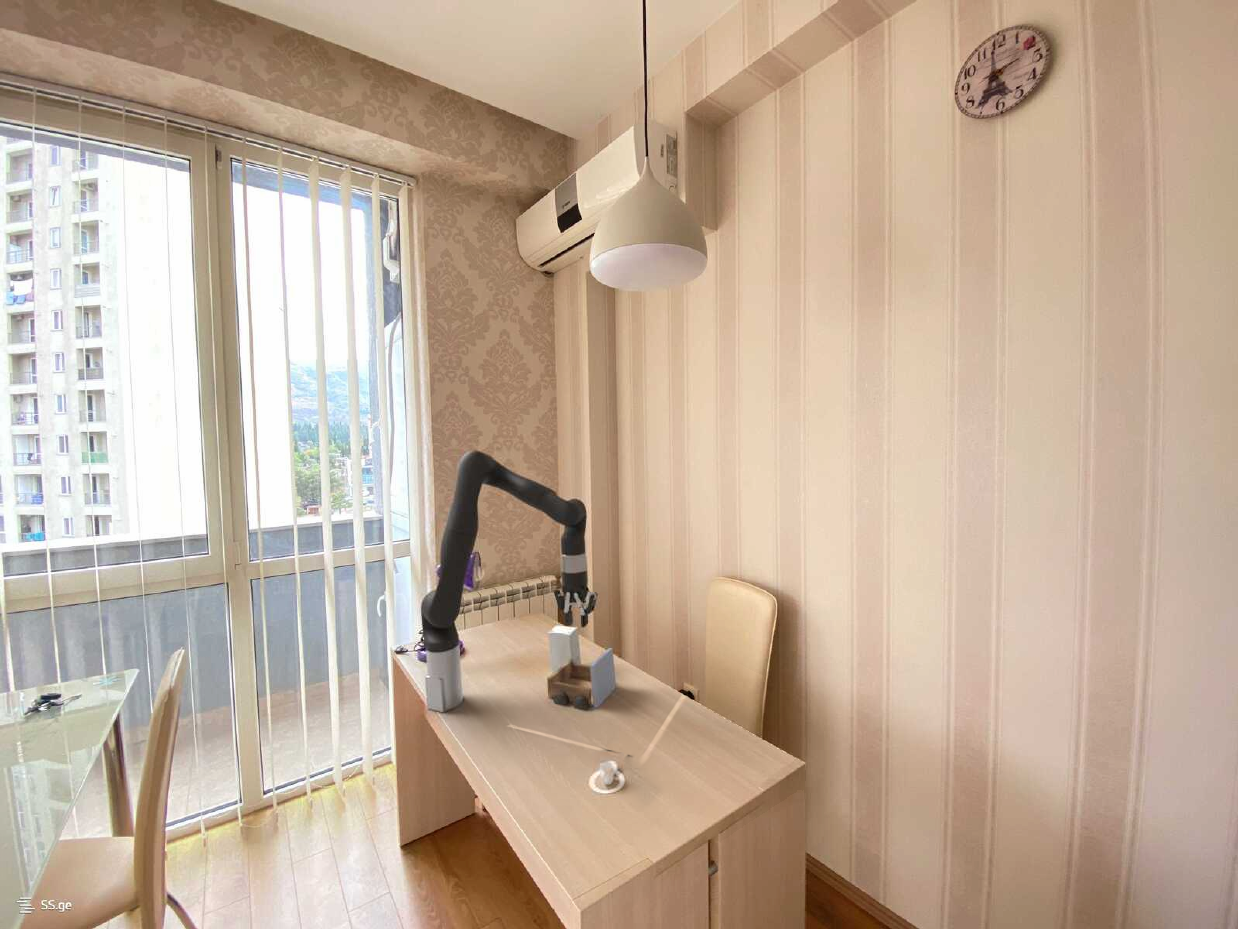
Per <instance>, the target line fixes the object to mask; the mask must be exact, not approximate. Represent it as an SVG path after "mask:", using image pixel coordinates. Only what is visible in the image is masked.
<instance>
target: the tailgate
mask: <svg viewBox="0 0 1238 929" xmlns="http://www.w3.org/2000/svg"><path fill="white" fill-rule="evenodd" d="M589 666H590V674H591V684H592V695H593V708H594V709H598V708H599V707H600V706H601V705H602V704H603V703H604V702H605V700H606V699H607V698H608V697H609V696H610V695H611V694H612V693H613V692H614V691H615V689H617V684H616V683H617V682H616V673H615V662H614V651H613V647H612V648H611V647H608V648H607V649H606V650H605V651H603V653H602V654H601V655H600V656H598V657H597V658H596V659H595V660H594V661H593V662H592V663H590V665H589Z"/></svg>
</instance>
